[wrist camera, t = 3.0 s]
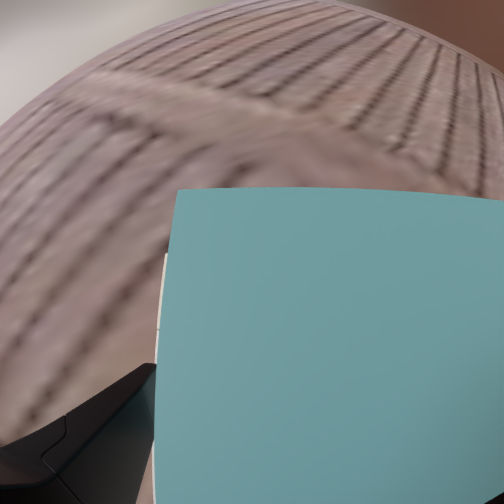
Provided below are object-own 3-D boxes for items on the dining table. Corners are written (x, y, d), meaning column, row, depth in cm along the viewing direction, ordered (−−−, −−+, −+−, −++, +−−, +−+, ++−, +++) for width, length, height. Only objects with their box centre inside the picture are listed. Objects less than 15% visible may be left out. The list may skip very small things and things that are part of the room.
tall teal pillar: (337, 433, 13) (560, 449, 1) (237, 439, 13) (159, 555, 2) (333, 360, 15) (508, 201, 3) (237, 364, 15) (178, 190, 3)
